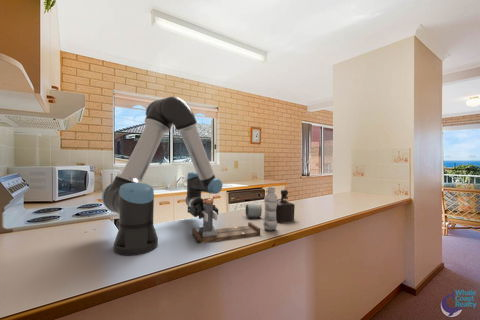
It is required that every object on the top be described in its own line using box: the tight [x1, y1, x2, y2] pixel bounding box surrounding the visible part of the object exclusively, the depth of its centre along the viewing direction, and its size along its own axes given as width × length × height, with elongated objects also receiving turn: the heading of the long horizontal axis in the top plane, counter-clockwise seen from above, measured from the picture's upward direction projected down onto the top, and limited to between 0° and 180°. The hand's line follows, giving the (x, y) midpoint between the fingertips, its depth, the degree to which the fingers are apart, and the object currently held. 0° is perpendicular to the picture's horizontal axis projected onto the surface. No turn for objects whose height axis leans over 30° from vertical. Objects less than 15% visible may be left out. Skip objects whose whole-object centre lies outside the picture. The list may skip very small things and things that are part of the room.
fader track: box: [191, 221, 261, 245], centre depth 100 cm, size 28×10×3 cm, turn 114°
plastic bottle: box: [262, 187, 279, 231], centre depth 109 cm, size 6×7×20 cm
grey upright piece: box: [198, 197, 217, 237], centre depth 97 cm, size 6×7×15 cm
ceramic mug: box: [245, 203, 263, 219], centre depth 132 cm, size 11×8×8 cm
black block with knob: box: [276, 189, 296, 223], centre depth 125 cm, size 16×11×18 cm
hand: (211, 217), depth 92 cm, fingers closed on grey upright piece, 3 cm apart
